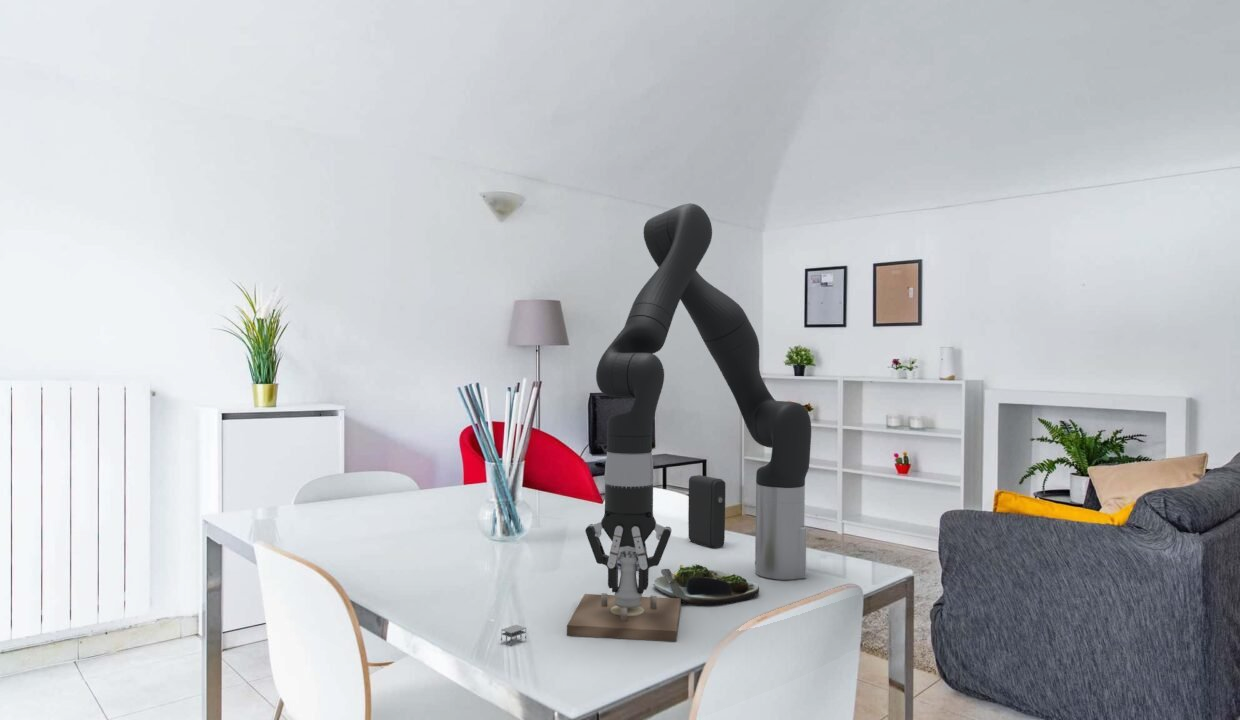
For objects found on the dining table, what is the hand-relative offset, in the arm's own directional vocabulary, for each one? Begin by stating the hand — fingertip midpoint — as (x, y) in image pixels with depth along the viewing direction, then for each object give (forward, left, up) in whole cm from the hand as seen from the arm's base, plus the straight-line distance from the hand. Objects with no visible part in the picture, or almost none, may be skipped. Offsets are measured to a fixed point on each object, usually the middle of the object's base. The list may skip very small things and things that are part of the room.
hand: (627, 591), depth 121 cm
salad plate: (-12, -18, -5) cm, 22 cm away
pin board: (0, 0, -5) cm, 5 cm away
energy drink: (+3, -32, -5) cm, 32 cm away
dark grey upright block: (-12, -55, -5) cm, 56 cm away
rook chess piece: (0, 0, -2) cm, 2 cm away
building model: (+15, +12, -5) cm, 20 cm away
